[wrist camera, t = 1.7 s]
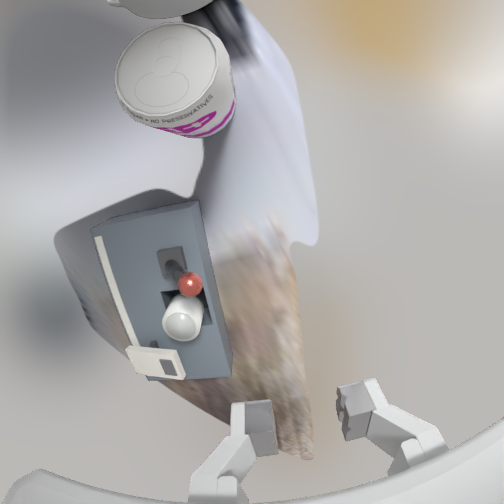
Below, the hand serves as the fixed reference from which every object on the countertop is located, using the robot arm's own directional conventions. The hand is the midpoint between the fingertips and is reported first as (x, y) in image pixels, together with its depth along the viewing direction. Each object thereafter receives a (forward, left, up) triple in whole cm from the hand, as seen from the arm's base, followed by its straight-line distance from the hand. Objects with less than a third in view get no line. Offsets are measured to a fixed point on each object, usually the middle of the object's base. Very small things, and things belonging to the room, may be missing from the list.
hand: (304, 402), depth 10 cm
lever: (0, -10, -19) cm, 21 cm away
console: (+6, -13, -25) cm, 29 cm away
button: (+6, -10, -20) cm, 23 cm away
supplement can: (-16, -5, -25) cm, 30 cm away
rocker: (+12, -15, -18) cm, 27 cm away
